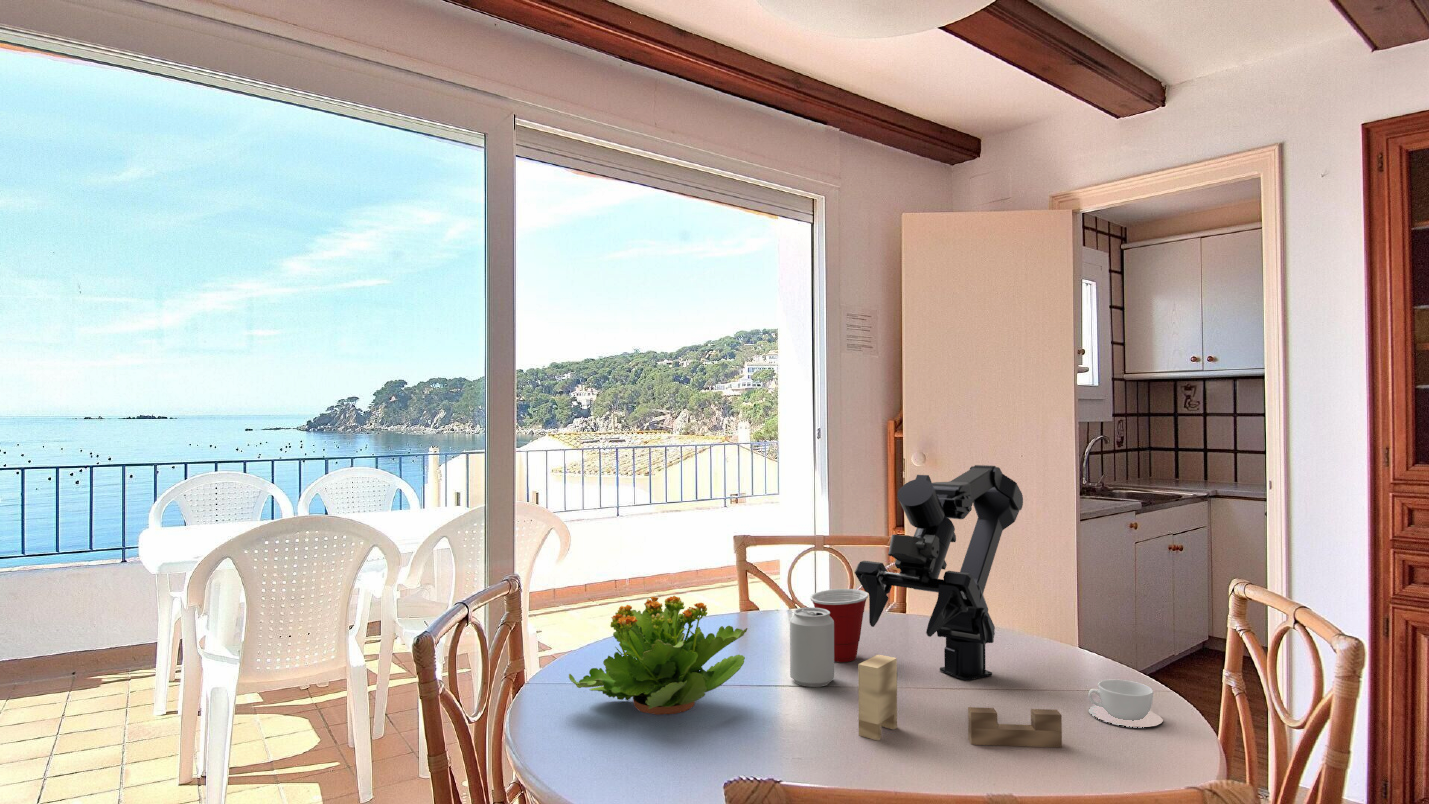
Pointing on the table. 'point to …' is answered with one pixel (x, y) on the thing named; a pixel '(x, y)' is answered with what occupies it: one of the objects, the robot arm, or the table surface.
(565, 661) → the table surface
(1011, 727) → the lower notched wooden block
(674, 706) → the potted flower
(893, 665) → the tall wooden block
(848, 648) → the plastic cup
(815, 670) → the can
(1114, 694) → the teacup
